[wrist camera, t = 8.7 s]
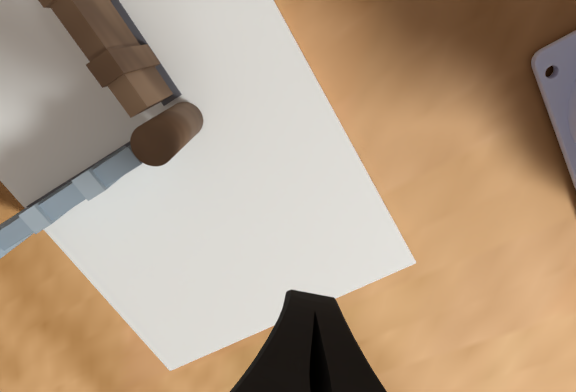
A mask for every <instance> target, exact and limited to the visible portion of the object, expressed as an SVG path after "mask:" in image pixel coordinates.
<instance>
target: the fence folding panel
mask: <svg viewBox="0 0 576 392" xmlns="http://www.w3.org/2000/svg"><path fill="white" fill-rule="evenodd" d="M141 164H142V162H141V161H139V160H138V159H137V158H136V156H135V155H134V154H133V152H132V149H131V145H129V146H128V147H126V146H124V147H122V148H121V149H119V150H118V151H116V152H114V153H113V154H111V155H110V156H108V157H107V158H105V159H104V160H102V161H101V162H99V163H98V164H96V165H95V166H93V167H92V168H90V169H89V170H87V171H86V172H84V173H82V174H81V175H79V176H78V177H76V178H75V179H73V180H72V181H70V182H69V183H67V184H66V185H64V186H62V187H61V188H59V189H58V190H56V191H55V192H53V193H52V194H50V195H49V196H47V197H46V198H44V199H43V200H41V201H40V202H38V203H37V204H35V205H34V206H32V207H27V208H25V209H23V210H22V211H20V212H19V213H17V214H16V215H14V216H13V217H11V218H10V219H8V220H6V221H5V222H3V223H2V224H0V258H2V257H3V256H4V255H6V254H7V253H8V252H10V251H11V250H12V249H13V248H15V247H16V246H17V245H19V244H20V243H21V242H23V241H24V240H25V239H27V238H28V237H29V236H31V235H32V234H33V233H35V234H37V233H38V232H40V231H42V230H43V229H45V228H46V227H48V226H50V225H51V224H52V223H54V222H55V221H56V220H58V219H59V218H60V217H61V216H63V215H64V214H65V213H67V212H68V211H69V210H71V209H72V208H73V207H74V206H76V205H78V204H79V203H81V202H82V201H84V200H85V199H87V200H88V201H89V200H91V199H93V198H94V197H96V196H97V195H99V194H101V193H102V192H104V191H105V190H106V189H108V188H109V187H110V186H111V185H113V184H114V183H115V182H116V181H118V180H119V179H120V178H121V177H122V176H124V175H125V174H127V173H128V172H130V171H131V170H133V169H135V168H136V167H138V166H139V165H141Z"/></svg>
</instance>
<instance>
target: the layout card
mask: <svg viewBox="0 0 576 392" xmlns="http://www.w3.org/2000/svg"><path fill="white" fill-rule="evenodd" d="M111 3H112V4H113V6H114V7H115V8H116V10H117V11H118V13H119V14H120V16H121V17H122V19H123V20H124V22H125V23H126V25H127V26H128V28H129V29H130V31H131V32H132V34H133V35H134V37H135V38H136V40H137V41H138V43H139V44H140V45H146V44H148V46H149V47H150V49H151V50H152V52H153V53H154V54H155V56H156V57H157V59H158V60H159V62H160V64H159V65H157V66H156V67H155V68H156V69H157V71H158V72H159V74H160V75H161V77H162V78H163V80H164V81H165V83H166V84H167V85H168V87H169V88H170V90H171V91H172V93H173V94H172V95H171V96H169V97H168V98H166V99H165V100H163V101H162V102H160V103H158V104H156V105H155V106H153V107H151V108H149V109H147V110H145V111H143V112H141V113H139V114H137V115H135V116H134V117H132V118H130V116H129V115H128V114H127V112H126V111H125V110H124V108H123V107H122V105H121V104H120V103H119V101H118V100H117V99H116V97H115V96H114V94H113V93H112V92H111V90H110V89H109V88H108V86H107V87H103V88H102V87H101V85H100V84H99V83H98V81H97V80H96V78H95V77H94V76H93V74H92V73H91V72H90V70H89V69H88V68H87V66H86V64H88V63H89V62H90V61H89V60H88V59H87V57H86V56H85V55H84V53H83V52H82V50H81V49H80V48H79V46H78V45H77V44H76V42H75V41H74V39H73V38H72V37H71V35H70V34H69V33H68V31H67V30H66V28H65V27H64V26H63V24H62V23H61V22H60V20H59V19H58V17H57V16H56V15H55V13H54V12H53V11H52V9H51V8H44V7H43V6H42V5H41V3H40V2H39V1H38V0H0V181H1V182H2V183H3V184H4V186H5V187H6V188H7V189H8V190H9V191H10V192H11V193H12V194H13V196H14V197H15V198H16V199H17V200H18V201H19V202H20V203H21V205H22V206H23V207H24V208H27V207H32V206H34V205H35V204H37V203H38V202H40V201H41V200H43V199H44V198H46V197H47V196H49V195H50V194H52V193H53V192H55V191H56V190H58V189H59V188H61V187H62V186H64V185H66V184H67V183H69V182H70V181H72V180H73V179H75V178H76V177H78V176H79V175H81V174H82V173H84V172H86V171H87V170H89V169H90V168H92V167H93V166H95V165H96V164H98V163H99V162H101V161H102V160H104V159H105V158H107V157H108V156H110V155H111V154H113V153H114V152H116V151H118V150H119V149H121V148H122V147H124V146H126V147H128V146H129V145H130V138H131V135H132V133H133V131H134V130H135V129H136V128H137V127H138V126H140V125H142V124H143V123H145V122H147V121H148V120H150V119H152V118H153V117H155V116H157V115H158V114H160V113H162V112H163V111H165V110H167V109H168V108H170V107H172V106H173V105H175V104H177V103H179V102H189V103H192V104H194V105H195V106H196V107H198V109H199V110H200V111H201V113H202V116H203V126H202V129H201V130H200V132H199V133H197V134H196V135H195V136H194V137H193V138H192V139H191V140H190V141H189V142H188V143H187V144H186V145H185V146H184V147H183V148H182V149H181V150H180V151H179V152H178V153H177V154H176V155H175V156H174V157H173V158H172V159H171V160H170V161H169V162H167V163H166V164H164V165H162V166H149V165H146V164H144V163H142V164H141V165H139V166H138V167H136V168H135V169H133V170H131V171H130V172H128V173H127V174H125V175H124V176H122V177H121V178H120V179H119V180H118V181H116V182H115V183H114V184H113V185H111V186H110V187H109V188H108V189H106V190H105V191H104V192H102V193H101V194H99V195H97V196H96V197H94V198H93V199H91V200H89V201H88V200H87V199H85V200H84V201H82V202H81V203H79V204H78V205H76V206H74V207H73V208H72V209H71V210H69V211H68V212H67V213H65V214H64V215H63V216H61V217H60V218H59V219H58V220H56V221H55V222H54V223H52V224H51V225H50V226H48V227H46V228H45V229H44V230H45V231H46V233H47V234H48V235H49V236H50V237H51V238H52V239H53V240H54V242H55V243H56V244H57V245H58V246H59V247H60V248H61V249H62V251H63V252H64V253H65V254H66V255H67V256H68V257H69V258H70V259H71V261H72V262H73V263H74V264H75V265H76V266H77V267H78V268H79V270H80V271H81V272H82V273H83V274H84V275H85V276H86V277H87V279H88V280H89V281H90V282H91V283H92V284H93V285H94V286H95V287H96V289H97V290H98V291H99V292H100V293H101V294H102V295H103V296H104V298H105V299H106V300H107V301H108V302H109V303H110V304H111V305H112V307H113V308H114V309H115V310H116V311H117V312H118V313H119V314H120V316H121V317H122V318H123V319H124V320H125V321H126V322H127V323H128V324H129V326H130V327H131V328H132V329H133V330H134V331H135V332H136V333H137V335H138V336H139V337H140V338H141V339H142V340H143V341H144V342H145V344H146V345H147V346H148V347H149V348H150V349H151V350H152V351H153V352H154V354H155V355H156V356H157V357H158V358H159V359H160V360H161V361H162V363H163V364H164V365H165V366H166V367H167V368H168V369H169V370H170V371H171V370H174V369H176V368H178V367H180V366H183V365H185V364H187V363H190V362H192V361H194V360H196V359H199V358H201V357H203V356H206V355H208V354H210V353H212V352H215V351H217V350H219V349H221V348H224V347H226V346H228V345H231V344H233V343H235V342H237V341H240V340H242V339H244V338H247V337H249V336H251V335H253V334H256V333H258V332H260V331H263V330H265V329H267V328H269V327H272V326H274V325H275V324H276V322H277V320H278V318H279V315H280V313H281V311H282V308H283V304H284V299H285V295H286V292H287V291H289V290H291V289H292V290H297V291H303V292H308V293H313V294H318V295H324V296H329V297H334V298H335V299H336V298H338V297H340V296H342V295H345V294H347V293H349V292H351V291H354V290H356V289H358V288H361V287H363V286H365V285H367V284H370V283H372V282H374V281H377V280H379V279H381V278H383V277H386V276H388V275H390V274H393V273H395V272H397V271H399V270H402V269H404V268H406V267H408V266H411V265H413V264H415V263H416V261H415V259H414V257H413V255H412V253H411V252H410V250H409V248H408V246H407V244H406V242H405V241H404V239H403V237H402V235H401V233H400V231H399V230H398V228H397V226H396V224H395V222H394V220H393V219H392V217H391V215H390V213H389V211H388V209H387V208H386V206H385V204H384V202H383V200H382V198H381V197H380V195H379V193H378V191H377V189H376V187H375V185H374V184H373V182H372V180H371V178H370V176H369V174H368V173H367V171H366V169H365V167H364V165H363V163H362V162H361V160H360V158H359V156H358V154H357V152H356V151H355V149H354V147H353V145H352V143H351V141H350V140H349V138H348V136H347V134H346V132H345V130H344V129H343V127H342V125H341V123H340V121H339V119H338V118H337V116H336V114H335V112H334V110H333V108H332V106H331V105H330V103H329V101H328V99H327V97H326V95H325V94H324V92H323V90H322V88H321V86H320V84H319V83H318V81H317V79H316V77H315V75H314V73H313V72H312V70H311V68H310V66H309V64H308V62H307V61H306V59H305V57H304V55H303V53H302V51H301V50H300V48H299V46H298V44H297V42H296V40H295V38H294V37H293V35H292V33H291V31H290V29H289V27H288V26H287V24H286V22H285V20H284V18H283V16H282V15H281V13H280V11H279V9H278V7H277V5H276V4H275V2H274V0H112V1H111Z"/></svg>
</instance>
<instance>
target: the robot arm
mask: <svg viewBox="0 0 576 392" xmlns="http://www.w3.org/2000/svg"><path fill="white" fill-rule="evenodd" d="M531 66H532V69H533V72H534V75H535V78H536V80H537V83H538V86H539V89H540V92H541V94H542V97H543V100H544V103H545V106H546V108H547V111H548V114H549V117H550V120H551V122H552V125H553V128H554V131H555V134H556V136H557V139H558V142H559V145H560V148H561V150H562V153H563V156H564V159H565V162H566V164H567V167H568V170H569V173H570V176H571V178H572V181H573V184H574V187H575V190H576V30H575V31H573V32H571V33H570V34H568V35H566V36H564V37H562V38H560V39H558V40H556V41H555V42H553V43H551V44H549V45H547V46H545V47H543V48H541V49H540V50H538V51H537V52H536V53H535V54H534V56H533V57H532V60H531ZM550 66H553V73H552V75H550V76H549V77H546V76H545V72H546V69H547V68H548V67H550ZM230 392H387V391H386V390H385V388H384V387H383V385H382V384H381V382H380V381H379V379H378V378H377V376H376V375H375V373H374V371H373V370H372V368H371V366H370V365H369V363H368V361H367V360H366V358H365V356H364V355H363V353H362V351H361V349H360V347H359V346H358V344H357V342H356V340H355V338H354V336H353V335H352V333H351V331H350V329H349V327H348V325H347V323H346V321H345V319H344V317H343V314H342V312H341V310H340V308H339V306H338V303H337V301H336V300H335V298H334V297H329V296H324V295H318V294H313V293H308V292H303V291H297V290H292V289H291V290H289V291H287V292H286V295H285V299H284V304H283V308H282V311H281V313H280V315H279V318H278V320H277V322H276V324H275V326H274V328H273V329H272V331H271V333H270V335H269V337H268V339H267V340H266V342H265V344H264V345H263V347H262V348H261V350H260V351H259V353H258V355H257V356H256V358H255V359H254V361H253V362H252V364H251V365H250V366H249V368H248V369H247V370H246V372H245V373H244V375H243V376H242V377H241V378H240V380H239V381H238V382H237V384H236V385H235V386H234V387H233V388H232V390H231V391H230Z"/></svg>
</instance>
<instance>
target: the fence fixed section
mask: <svg viewBox="0 0 576 392" xmlns="http://www.w3.org/2000/svg"><path fill="white" fill-rule="evenodd" d="M38 1H39V2H40V3H41V5H42V6H43V7H44V8H51V9H52V11H53V12H54V13H55V15H56V16H57V17H58V19H59V20H60V22H61V23H62V24H63V26H64V27H65V28H66V30H67V31H68V33H69V34H70V35H71V37H72V38H73V39H74V41H75V42H76V44H77V45H78V46H79V48H80V49H81V50H82V52H83V53H84V55H85V56H86V57H87V59H88V60H89V61H90V62H89V63H88V64H86V66H87V68H88V69H89V70H90V72H91V73H92V74H93V76H94V77H95V78H96V80H97V81H98V83H99V84H100V85H101V87H102V88H103V87H107V86H108V88H109V89H110V90H111V92H112V93H113V94H114V96H115V97H116V99H117V100H118V101H119V103H120V104H121V105H122V107H123V108H124V110H125V111H126V112H127V114H128V115H129V116H130V118H132V117H134V116H135V115H137V114H139V113H141V112H143V111H145V110H147V109H149V108H151V107H153V106H155V105H156V104H158V103H160V102H162V101H163V100H165V99H166V98H168V97H169V96H171V95H172V94H173V93H172V91H171V90H170V88H169V87H168V85H167V84H166V83H165V81H164V80H163V78H162V77H161V75H160V74H159V72H158V71H157V69H156V68H155V67H156V66H157V65H159V64H160V62H159V60H158V59H157V57H156V56H155V54H154V53H153V52H152V50H151V49H150V47H149V46H148V44H146V45H140V44H139V43H138V41H137V40H136V38H135V37H134V35H133V34H132V32H131V31H130V29H129V28H128V26H127V25H126V23H125V22H124V20H123V19H122V17H121V16H120V14H119V13H118V11H117V10H116V8H115V7H114V6H113V4H112V3H111V1H112V0H38ZM202 126H203V116H202V113H201V111H200V110H199V109H198V107H196V106H195V105H194V104H192V103H189V102H179V103H177V104H175V105H173V106H172V107H170V108H168V109H167V110H165V111H163V112H162V113H160V114H158V115H157V116H155V117H153V118H152V119H150V120H148V121H147V122H145V123H143V124H142V125H140V126H138V127H137V128H136V129H135V130H134V131H133V133H132V135H131V138H130V145H131V149H132V152H133V154H134V155H135V156H136V158H137V159H138V160H139V161H141V162H142V163H144V164H146V165H149V166H162V165H164V164H166V163H167V162H169V161H170V160H171V159H172V158H173V157H174V156H175V155H176V154H177V153H178V152H179V151H180V150H181V149H182V148H183V147H184V146H185V145H186V144H187V143H188V142H189V141H190V140H191V139H192V138H193V137H194V136H195V135H196V134H197V133H199V132H200V130H201V129H202Z"/></svg>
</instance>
